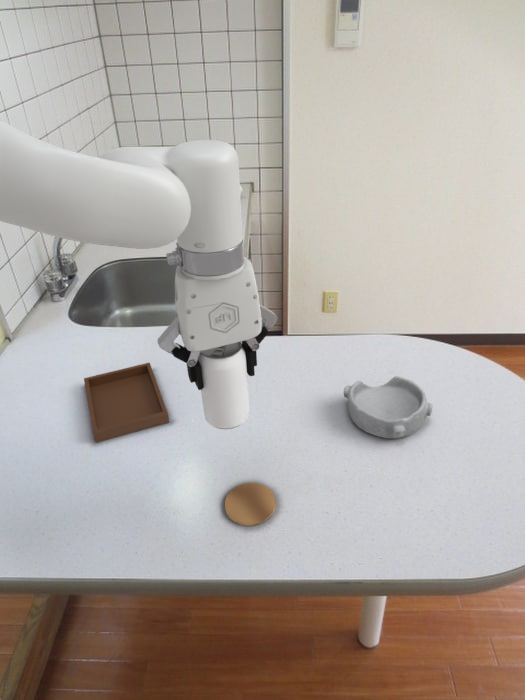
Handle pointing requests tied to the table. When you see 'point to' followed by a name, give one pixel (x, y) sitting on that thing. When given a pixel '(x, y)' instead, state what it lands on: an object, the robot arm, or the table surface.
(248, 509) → the coaster
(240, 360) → the can
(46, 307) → the table surface
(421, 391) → the dish
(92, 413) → the tray
